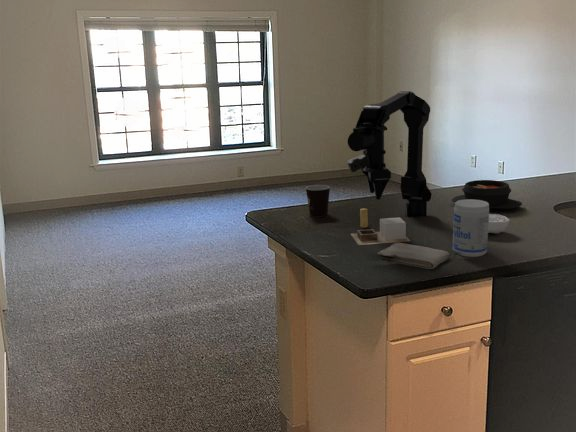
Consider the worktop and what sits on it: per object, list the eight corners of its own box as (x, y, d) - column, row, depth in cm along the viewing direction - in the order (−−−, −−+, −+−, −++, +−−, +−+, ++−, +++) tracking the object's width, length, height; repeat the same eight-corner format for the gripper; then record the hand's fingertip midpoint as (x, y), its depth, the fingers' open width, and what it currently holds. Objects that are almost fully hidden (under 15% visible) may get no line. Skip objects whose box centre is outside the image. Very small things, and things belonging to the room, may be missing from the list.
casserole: (530, 205, 229) (531, 182, 227) (508, 217, 216) (509, 193, 214) (466, 197, 245) (466, 175, 243) (442, 207, 232) (442, 185, 230)
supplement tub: (446, 254, 182) (447, 204, 178) (461, 245, 189) (462, 197, 185) (478, 260, 176) (480, 208, 172) (492, 251, 183) (494, 201, 179)
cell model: (501, 240, 192) (502, 218, 191) (464, 234, 200) (464, 213, 198) (514, 231, 200) (515, 211, 198) (478, 226, 207) (478, 206, 206)
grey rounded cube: (399, 232, 200) (399, 217, 199) (405, 238, 194) (405, 222, 193) (379, 234, 199) (379, 218, 198) (385, 240, 193) (385, 224, 192)
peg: (367, 228, 210) (366, 208, 208) (368, 230, 208) (368, 210, 206) (359, 229, 210) (359, 208, 208) (361, 231, 208) (361, 210, 206)
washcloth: (394, 249, 190) (394, 239, 189) (451, 258, 179) (451, 248, 178) (374, 261, 181) (374, 250, 180) (433, 271, 170) (434, 260, 169)
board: (399, 233, 203) (399, 219, 202) (410, 244, 192) (410, 229, 190) (350, 237, 202) (350, 223, 200) (358, 248, 190) (358, 233, 189)
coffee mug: (328, 217, 226) (328, 190, 223) (304, 217, 227) (303, 190, 225) (333, 209, 237) (332, 183, 234) (310, 209, 238) (309, 183, 236)
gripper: (343, 143, 204) (344, 191, 208) (353, 152, 186) (354, 204, 190) (378, 141, 205) (378, 189, 209) (391, 150, 187) (391, 202, 191)
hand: (375, 196), depth 199 cm, fingers open, 9 cm apart
